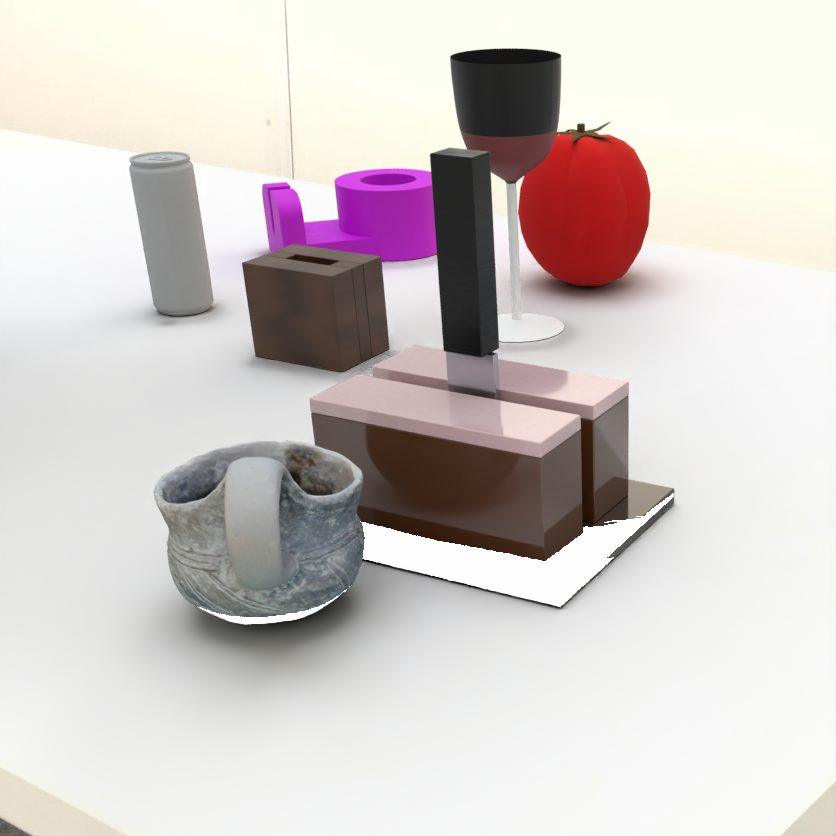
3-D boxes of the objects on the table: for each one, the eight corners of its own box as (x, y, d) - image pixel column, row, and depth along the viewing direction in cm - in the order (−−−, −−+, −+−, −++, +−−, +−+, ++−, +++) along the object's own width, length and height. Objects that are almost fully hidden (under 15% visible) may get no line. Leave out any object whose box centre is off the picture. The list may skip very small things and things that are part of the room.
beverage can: (178, 297, 113) (153, 149, 107) (227, 303, 111) (204, 153, 105) (142, 313, 109) (113, 160, 103) (192, 319, 107) (166, 164, 101)
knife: (449, 505, 75) (423, 152, 65) (466, 494, 76) (443, 146, 67) (495, 516, 74) (476, 158, 64) (511, 503, 75) (495, 152, 66)
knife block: (255, 356, 100) (241, 262, 96) (305, 334, 104) (293, 243, 101) (342, 372, 97) (331, 276, 93) (389, 348, 102) (381, 256, 98)
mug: (352, 549, 72) (332, 372, 67) (412, 660, 62) (394, 462, 57) (168, 581, 69) (131, 397, 64) (200, 704, 59) (161, 498, 54)
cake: (273, 538, 73) (253, 404, 69) (415, 450, 84) (405, 330, 80) (560, 608, 67) (556, 465, 63) (674, 503, 78) (677, 375, 74)
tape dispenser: (429, 230, 133) (425, 165, 130) (459, 254, 125) (454, 185, 122) (267, 246, 127) (258, 178, 124) (288, 272, 120) (278, 200, 116)
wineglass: (453, 340, 103) (434, 62, 93) (484, 308, 111) (470, 47, 100) (552, 347, 102) (545, 65, 92) (577, 314, 109) (573, 50, 99)
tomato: (530, 305, 111) (524, 139, 105) (513, 266, 122) (507, 113, 115) (665, 298, 113) (668, 135, 107) (637, 261, 124) (638, 110, 117)
